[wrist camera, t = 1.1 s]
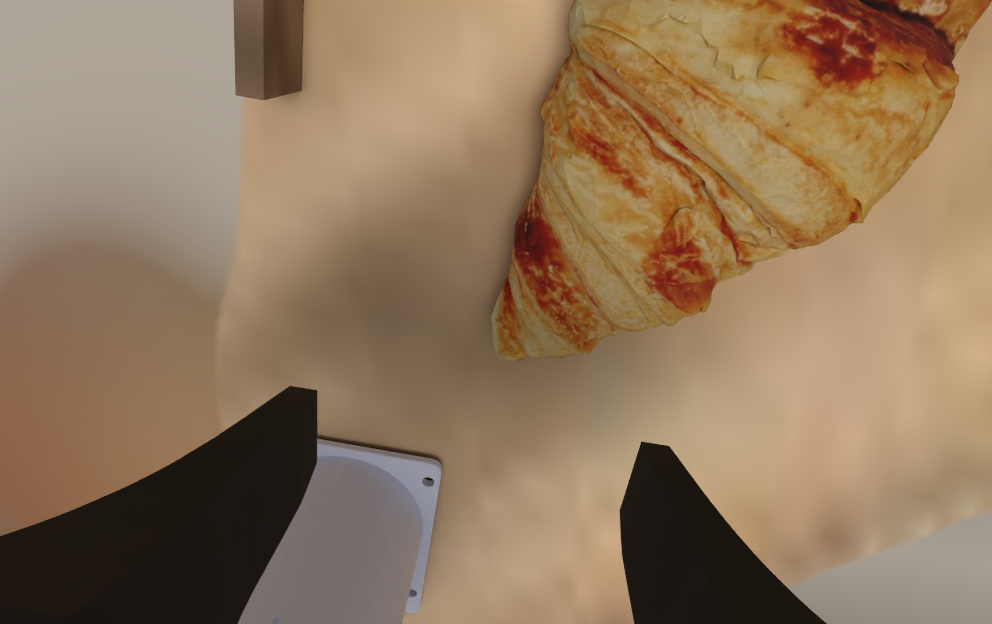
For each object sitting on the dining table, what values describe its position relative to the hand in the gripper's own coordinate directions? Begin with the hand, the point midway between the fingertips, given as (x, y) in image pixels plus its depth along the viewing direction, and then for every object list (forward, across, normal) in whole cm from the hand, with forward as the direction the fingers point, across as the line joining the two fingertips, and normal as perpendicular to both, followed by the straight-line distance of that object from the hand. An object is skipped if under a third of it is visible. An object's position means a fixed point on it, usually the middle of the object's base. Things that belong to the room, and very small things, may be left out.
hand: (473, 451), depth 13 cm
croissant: (+11, -5, -7) cm, 14 cm away
